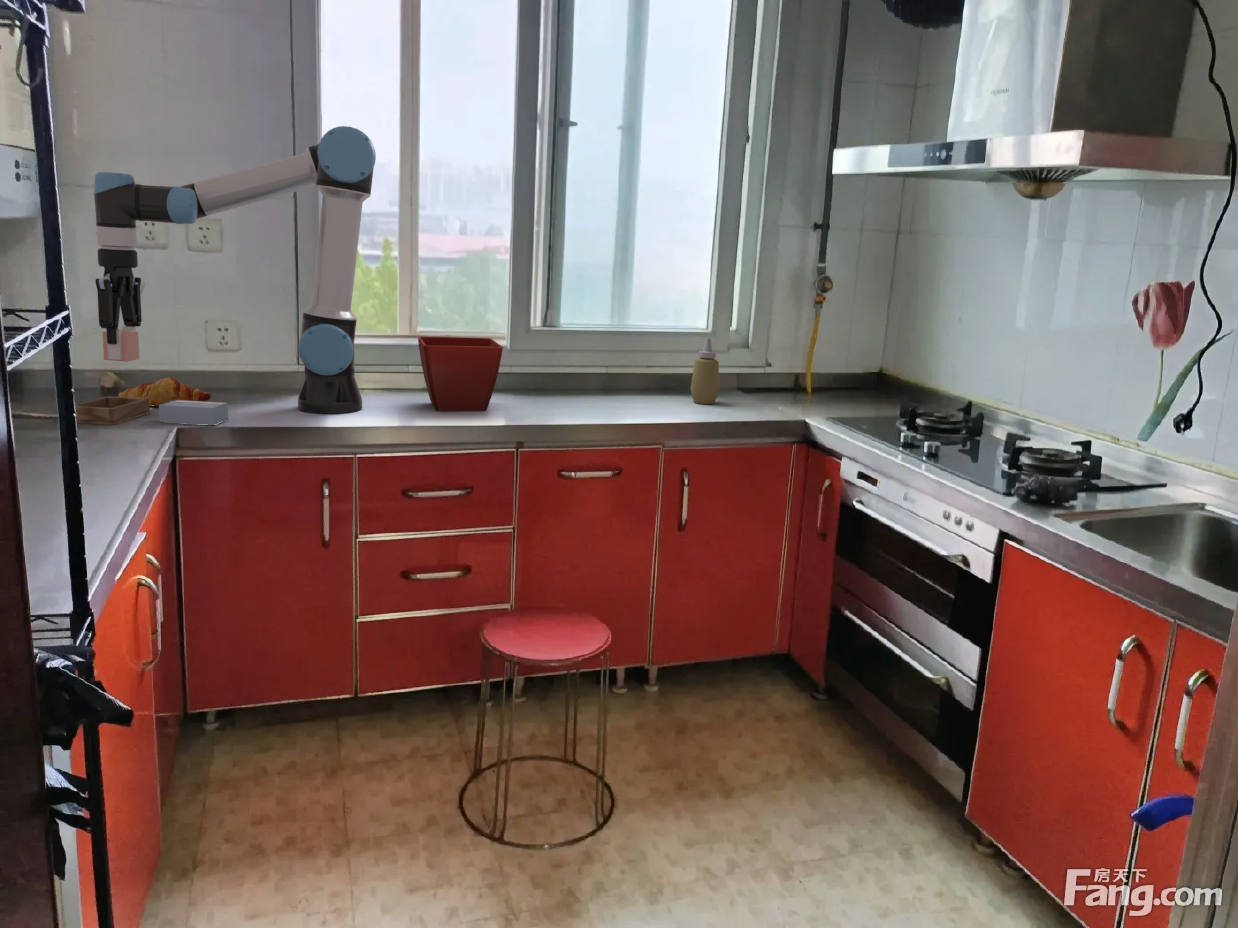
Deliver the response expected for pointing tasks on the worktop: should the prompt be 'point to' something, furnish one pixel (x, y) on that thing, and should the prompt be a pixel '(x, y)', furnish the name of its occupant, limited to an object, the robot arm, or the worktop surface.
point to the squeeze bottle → (705, 376)
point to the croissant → (165, 392)
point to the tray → (111, 410)
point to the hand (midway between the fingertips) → (122, 357)
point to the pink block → (124, 346)
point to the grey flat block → (193, 412)
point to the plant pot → (460, 371)
